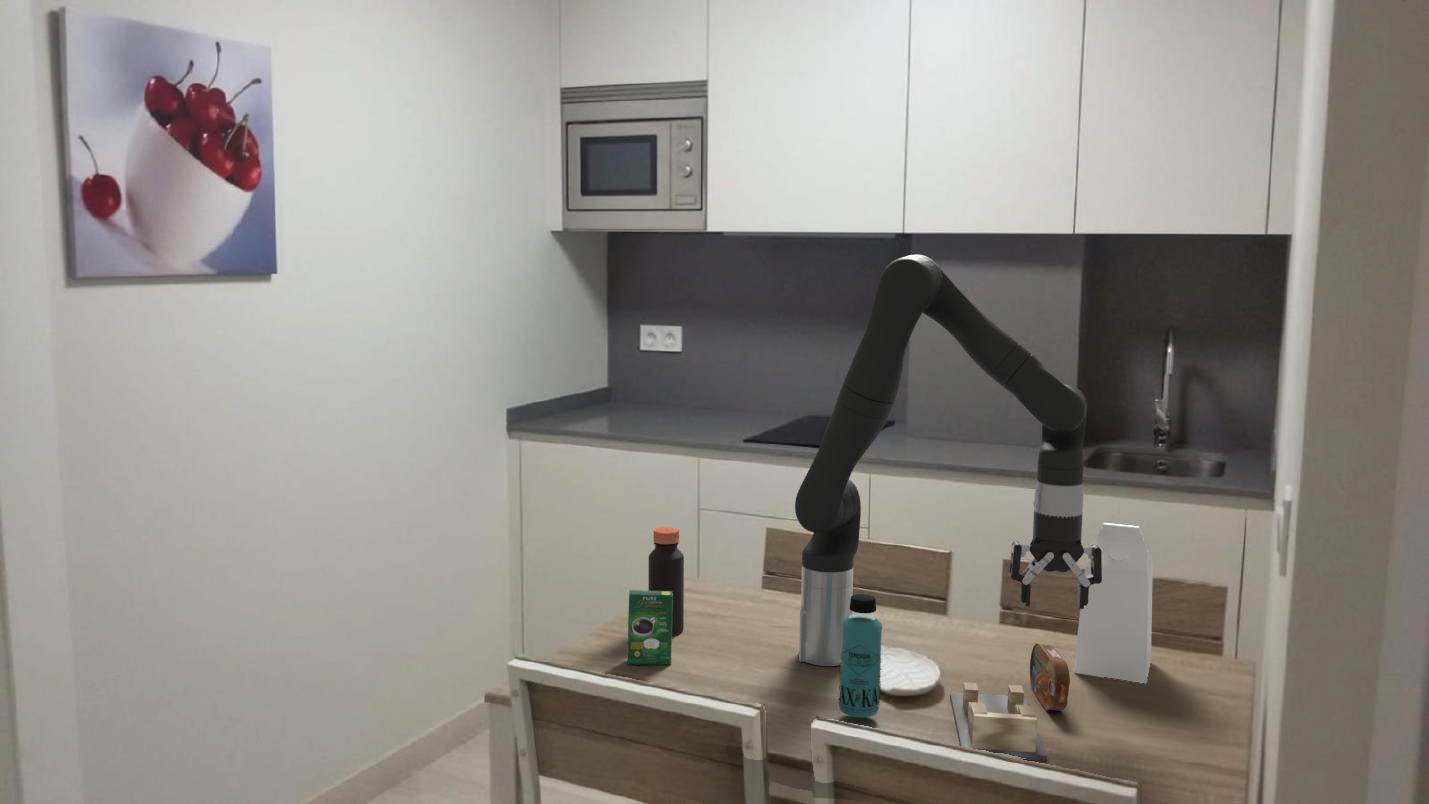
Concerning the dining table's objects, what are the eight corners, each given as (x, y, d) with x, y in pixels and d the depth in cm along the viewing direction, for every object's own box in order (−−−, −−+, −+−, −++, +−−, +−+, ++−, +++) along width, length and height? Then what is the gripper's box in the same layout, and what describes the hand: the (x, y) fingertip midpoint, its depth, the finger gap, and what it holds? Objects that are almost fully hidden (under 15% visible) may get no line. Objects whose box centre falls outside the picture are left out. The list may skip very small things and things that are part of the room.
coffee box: (672, 659, 201) (673, 589, 199) (672, 665, 198) (673, 594, 196) (627, 659, 200) (627, 589, 199) (627, 665, 198) (627, 594, 196)
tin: (1027, 683, 191) (1029, 635, 190) (1045, 683, 191) (1048, 636, 190) (1050, 719, 177) (1053, 668, 175) (1070, 719, 176) (1073, 668, 175)
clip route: (962, 755, 163) (964, 718, 163) (950, 696, 185) (951, 663, 184) (1046, 761, 162) (1048, 722, 161) (1024, 701, 183) (1025, 667, 183)
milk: (1150, 662, 202) (1159, 521, 198) (1146, 684, 191) (1155, 536, 188) (1081, 651, 207) (1089, 514, 203) (1073, 672, 196) (1081, 528, 193)
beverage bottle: (834, 710, 179) (837, 590, 176) (875, 709, 179) (878, 589, 177) (842, 728, 172) (845, 603, 170) (884, 726, 173) (888, 602, 170)
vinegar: (690, 629, 217) (690, 529, 214) (670, 639, 211) (670, 536, 209) (661, 622, 221) (662, 524, 218) (641, 632, 215) (641, 531, 212)
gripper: (1016, 513, 177) (1012, 611, 179) (1109, 516, 175) (1103, 615, 178) (1009, 502, 184) (1005, 597, 187) (1098, 505, 183) (1093, 601, 185)
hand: (1053, 606), depth 182 cm, fingers open, 8 cm apart
